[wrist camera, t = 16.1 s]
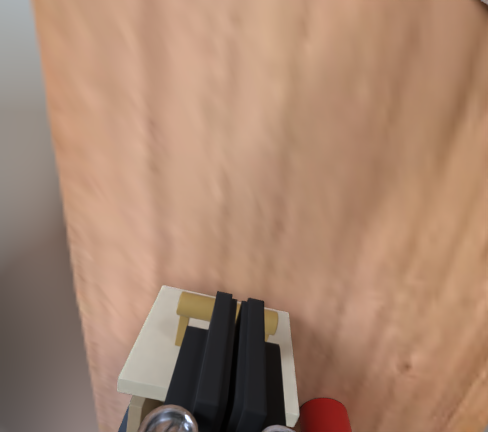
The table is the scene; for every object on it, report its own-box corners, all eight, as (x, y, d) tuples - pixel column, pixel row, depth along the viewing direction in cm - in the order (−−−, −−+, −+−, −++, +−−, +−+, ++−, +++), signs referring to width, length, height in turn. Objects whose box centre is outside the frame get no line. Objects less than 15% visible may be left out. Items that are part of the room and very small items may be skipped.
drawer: (168, 242, 23) (121, 325, 15) (303, 272, 23) (323, 367, 16) (147, 392, 30) (108, 498, 23) (250, 413, 30) (246, 524, 23)
